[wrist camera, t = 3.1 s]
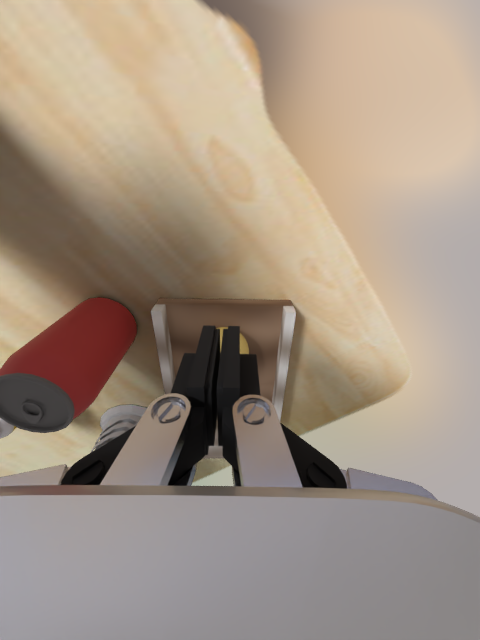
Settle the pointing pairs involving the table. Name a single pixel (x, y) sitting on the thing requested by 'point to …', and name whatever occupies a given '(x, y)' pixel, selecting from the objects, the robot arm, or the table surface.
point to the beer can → (65, 366)
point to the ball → (243, 342)
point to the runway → (251, 315)
